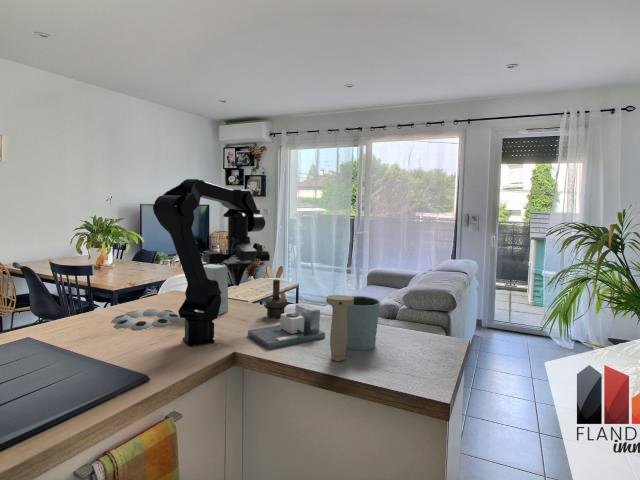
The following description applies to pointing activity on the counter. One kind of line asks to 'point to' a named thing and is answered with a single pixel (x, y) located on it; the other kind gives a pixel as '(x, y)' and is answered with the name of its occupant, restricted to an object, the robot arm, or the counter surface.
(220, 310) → the skincare box
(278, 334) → the bench
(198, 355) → the counter surface
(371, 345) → the teal cup
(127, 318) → the grey flat openwork piece
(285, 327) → the white box with dome
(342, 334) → the handle
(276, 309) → the industrial component
